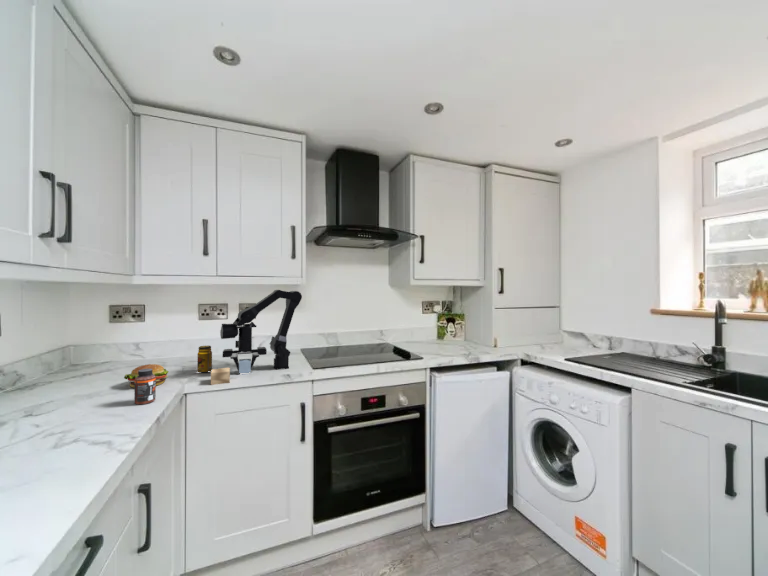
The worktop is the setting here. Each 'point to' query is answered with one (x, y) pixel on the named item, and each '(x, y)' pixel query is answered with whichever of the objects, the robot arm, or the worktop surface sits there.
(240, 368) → the blue block
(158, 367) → the food
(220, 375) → the tan block
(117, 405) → the worktop surface
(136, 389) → the supplement bottle
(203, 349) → the condiment
